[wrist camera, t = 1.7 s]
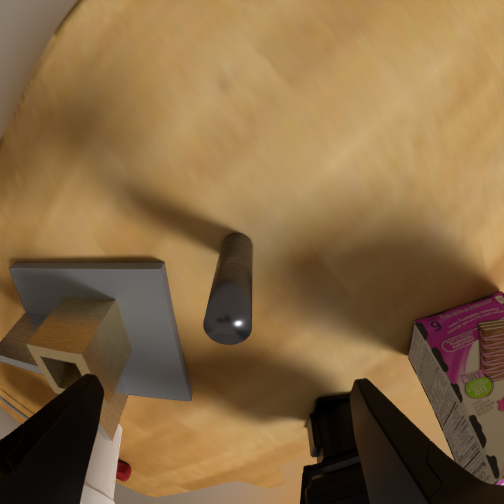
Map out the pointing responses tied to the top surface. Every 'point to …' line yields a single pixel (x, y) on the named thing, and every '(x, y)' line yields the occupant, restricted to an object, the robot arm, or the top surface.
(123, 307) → the base plate
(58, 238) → the top surface
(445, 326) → the candy bar box
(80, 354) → the hinge
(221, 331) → the hinge pin
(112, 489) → the foam cup
